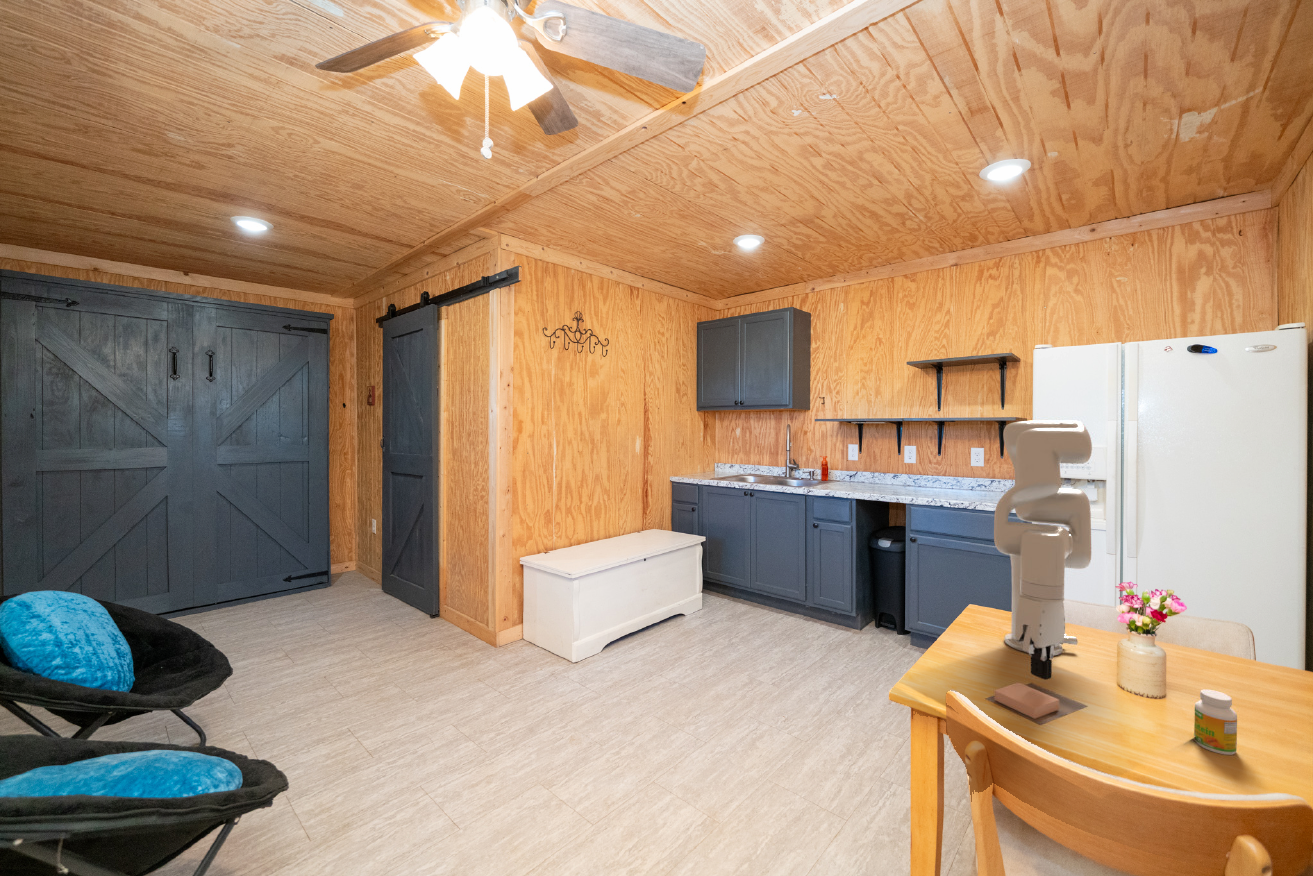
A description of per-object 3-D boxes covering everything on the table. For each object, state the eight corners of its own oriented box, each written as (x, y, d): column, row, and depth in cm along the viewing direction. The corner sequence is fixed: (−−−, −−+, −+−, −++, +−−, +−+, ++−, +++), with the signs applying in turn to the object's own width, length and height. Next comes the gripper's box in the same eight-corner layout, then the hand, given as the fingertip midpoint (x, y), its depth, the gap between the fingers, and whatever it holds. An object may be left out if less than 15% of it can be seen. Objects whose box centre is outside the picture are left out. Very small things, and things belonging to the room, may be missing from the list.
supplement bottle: (1185, 739, 100) (1186, 688, 100) (1211, 737, 101) (1212, 686, 100) (1218, 756, 95) (1219, 703, 95) (1245, 754, 95) (1246, 701, 95)
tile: (1018, 682, 115) (994, 690, 112) (1059, 699, 108) (1034, 708, 105) (1018, 692, 115) (994, 700, 112) (1059, 710, 108) (1034, 720, 105)
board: (1031, 688, 120) (1031, 682, 120) (1087, 711, 110) (1087, 706, 110) (984, 704, 113) (984, 698, 113) (1040, 731, 103) (1040, 724, 103)
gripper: (1044, 580, 118) (1043, 662, 118) (1001, 589, 112) (1000, 676, 112) (1082, 589, 111) (1081, 676, 112) (1039, 600, 105) (1038, 692, 105)
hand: (1041, 676), depth 112 cm, fingers closed
